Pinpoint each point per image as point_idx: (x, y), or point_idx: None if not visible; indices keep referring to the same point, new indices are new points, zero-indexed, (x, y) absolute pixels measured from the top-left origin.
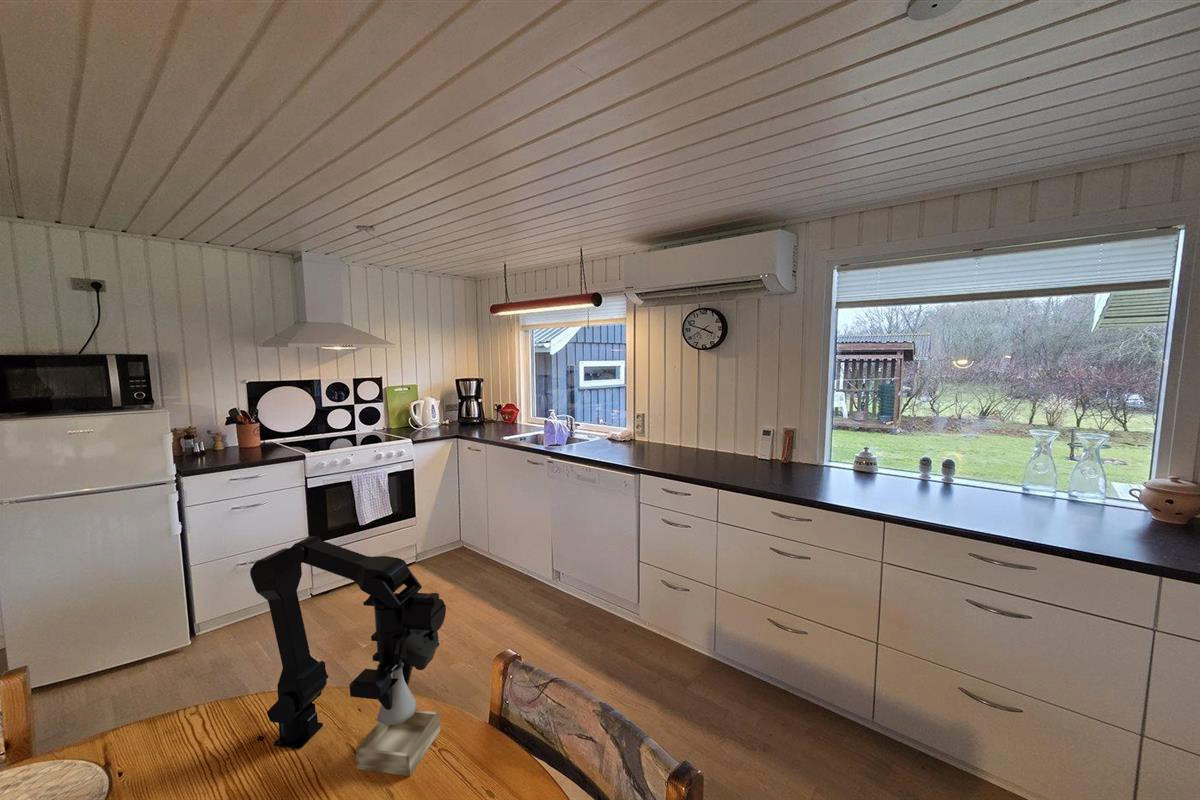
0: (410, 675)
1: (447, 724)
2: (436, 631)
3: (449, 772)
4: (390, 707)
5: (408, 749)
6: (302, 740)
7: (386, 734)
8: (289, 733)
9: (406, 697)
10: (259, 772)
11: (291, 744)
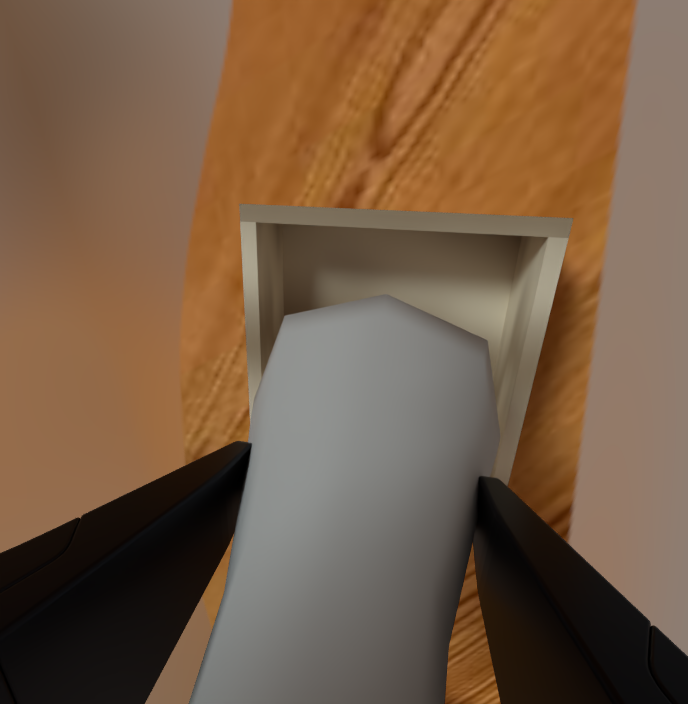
0: (122, 496)
1: (240, 190)
2: None
3: (520, 12)
4: (509, 490)
5: (413, 291)
6: None
7: None
8: None
9: (374, 398)
10: (489, 680)
11: None
